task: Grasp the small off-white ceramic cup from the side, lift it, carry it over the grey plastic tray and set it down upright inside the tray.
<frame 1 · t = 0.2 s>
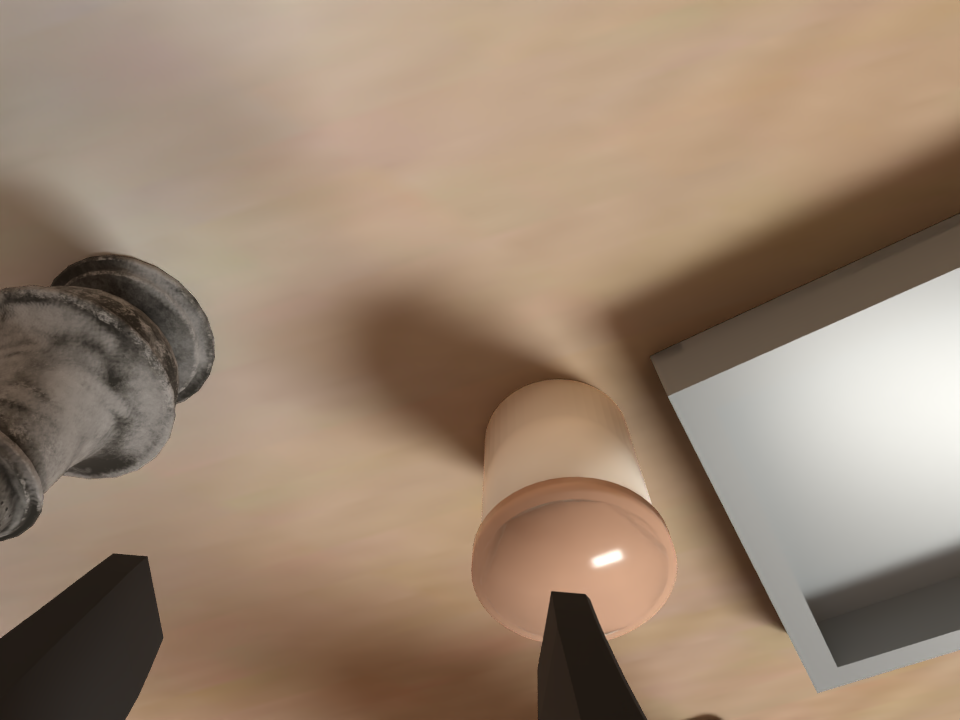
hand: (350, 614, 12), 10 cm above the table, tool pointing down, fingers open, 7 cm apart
tray: (934, 432, 21), on the table
cup: (556, 441, 22), on the table
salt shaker: (134, 332, 21), on the table
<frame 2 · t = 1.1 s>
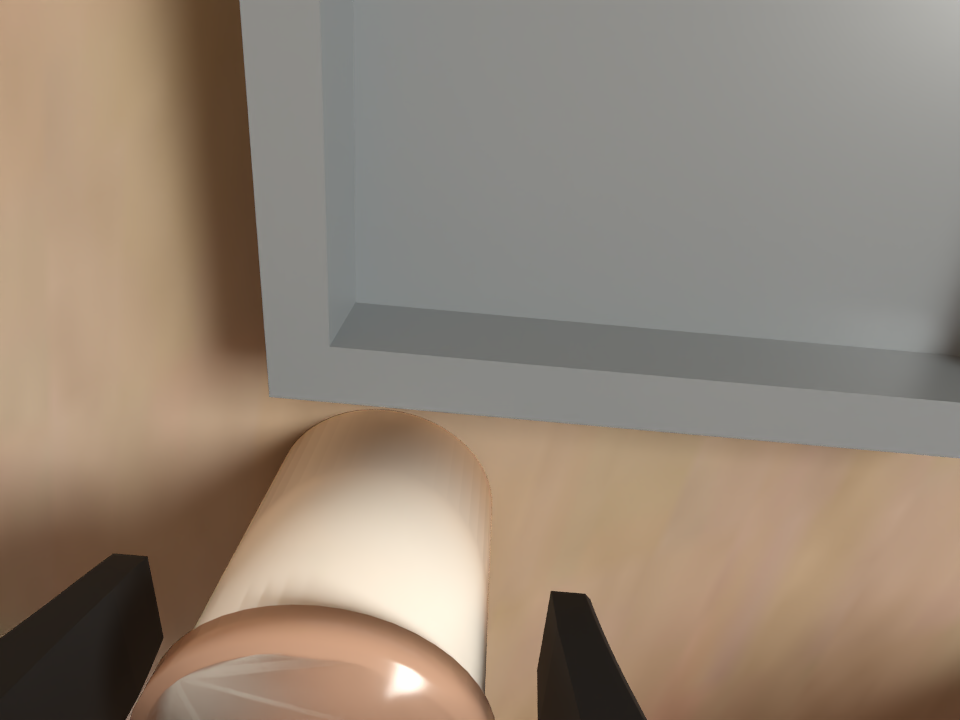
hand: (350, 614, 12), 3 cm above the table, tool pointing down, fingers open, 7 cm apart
cup: (385, 501, 15), on the table
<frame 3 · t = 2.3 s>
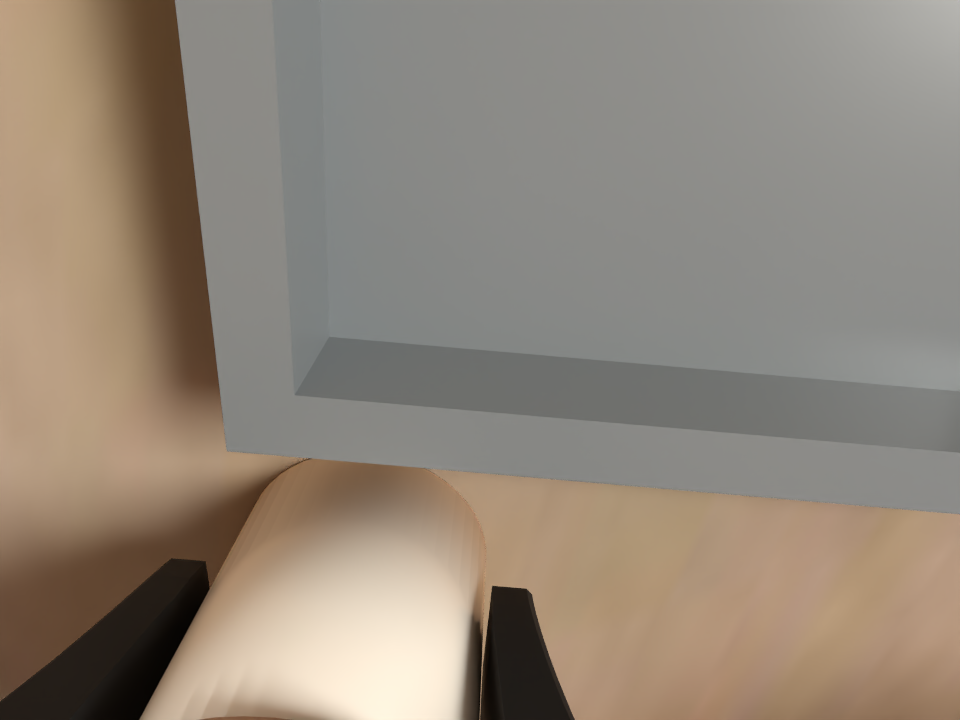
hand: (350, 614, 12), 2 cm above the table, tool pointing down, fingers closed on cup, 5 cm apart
cup: (367, 550, 13), on the table, touching gripper
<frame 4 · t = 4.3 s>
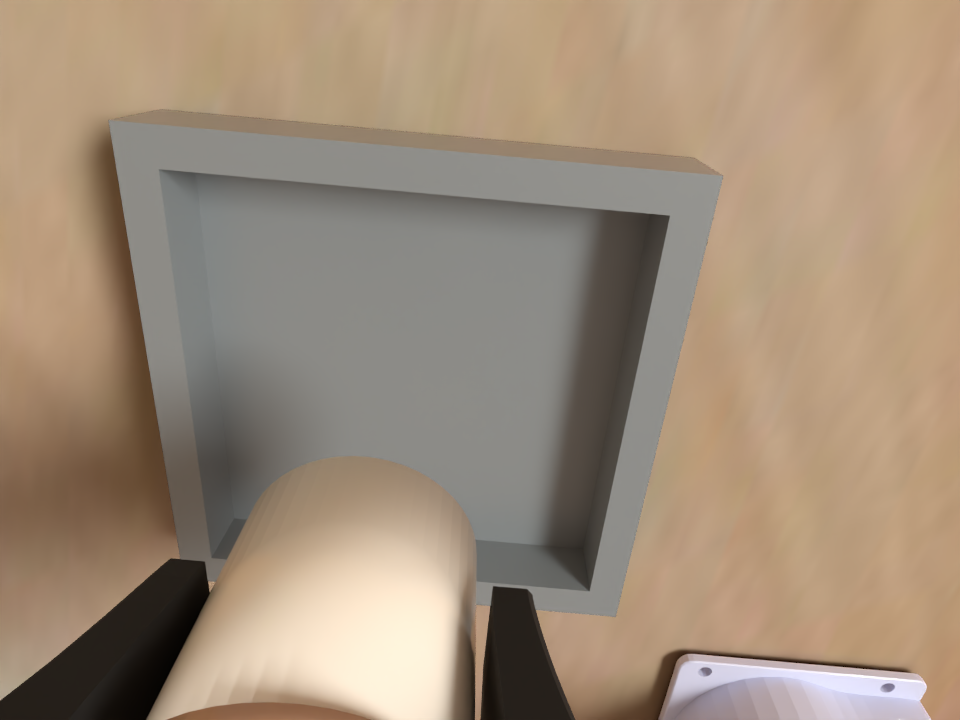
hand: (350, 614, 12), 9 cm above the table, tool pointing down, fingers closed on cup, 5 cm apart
tray: (417, 370, 20), on the table
cup: (361, 552, 14), point 7 cm above the table, touching gripper
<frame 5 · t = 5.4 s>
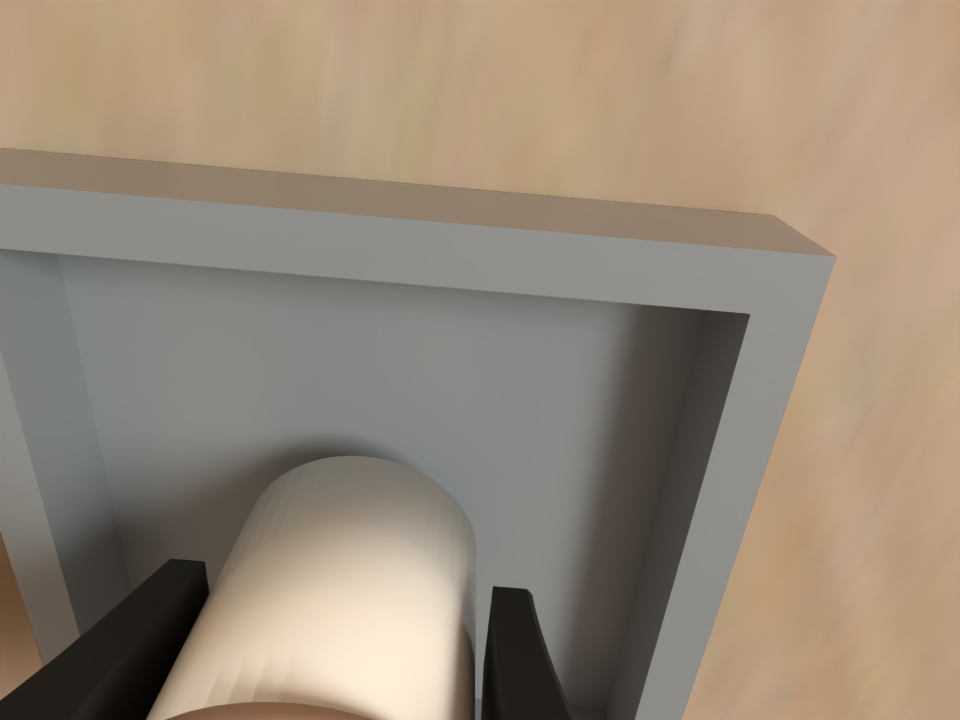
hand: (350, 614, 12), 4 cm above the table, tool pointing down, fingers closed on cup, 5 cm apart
tray: (384, 491, 15), on the table
cup: (361, 552, 14), point 2 cm above the table, touching gripper
when the fingers open (3 cm above the table, at t = 6.4 s): cup stays where it is, resting on tray.
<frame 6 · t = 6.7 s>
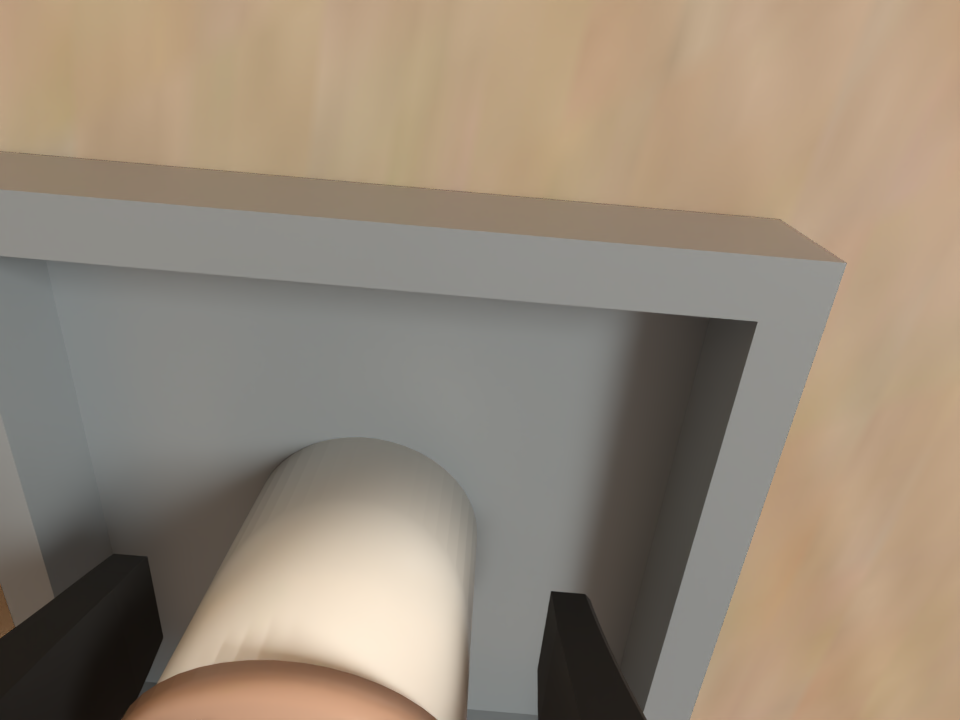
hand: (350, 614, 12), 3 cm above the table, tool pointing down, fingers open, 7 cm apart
tray: (381, 500, 15), on the table
cup: (367, 529, 14), point 1 cm above the table, touching tray
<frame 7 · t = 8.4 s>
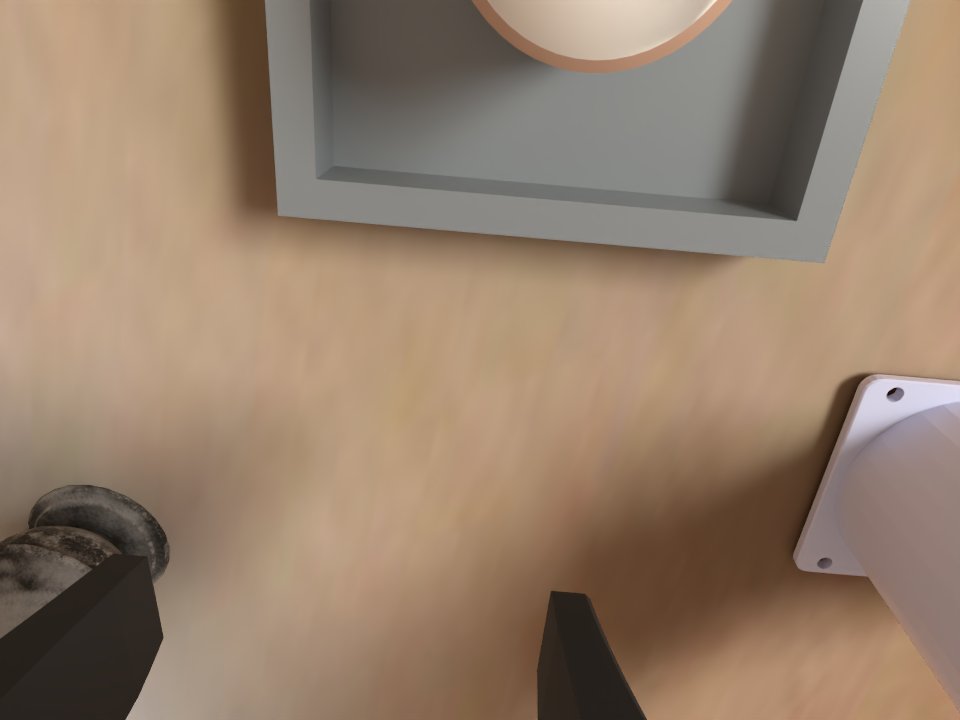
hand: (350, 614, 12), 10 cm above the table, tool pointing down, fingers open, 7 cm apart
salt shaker: (103, 536, 25), on the table
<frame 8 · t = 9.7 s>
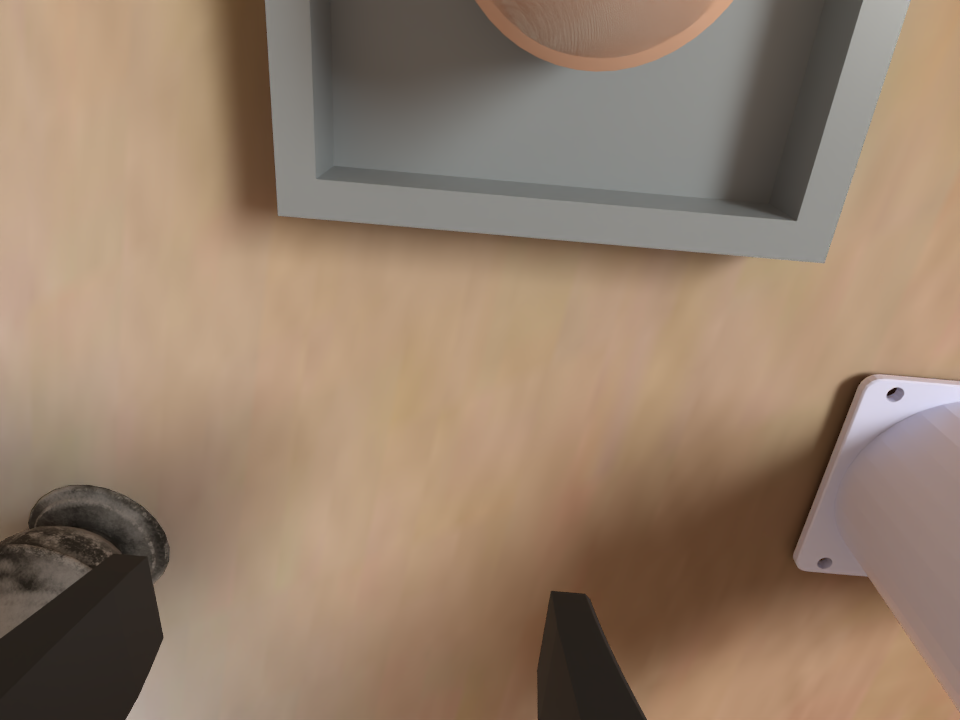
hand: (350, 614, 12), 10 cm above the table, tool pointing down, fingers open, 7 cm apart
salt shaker: (103, 536, 25), on the table
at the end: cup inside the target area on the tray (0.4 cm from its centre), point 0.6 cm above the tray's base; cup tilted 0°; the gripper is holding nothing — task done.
